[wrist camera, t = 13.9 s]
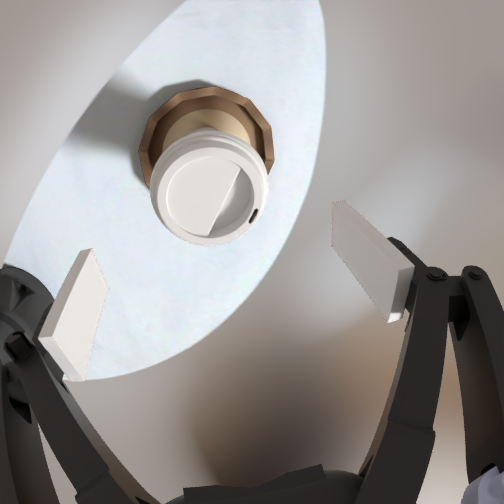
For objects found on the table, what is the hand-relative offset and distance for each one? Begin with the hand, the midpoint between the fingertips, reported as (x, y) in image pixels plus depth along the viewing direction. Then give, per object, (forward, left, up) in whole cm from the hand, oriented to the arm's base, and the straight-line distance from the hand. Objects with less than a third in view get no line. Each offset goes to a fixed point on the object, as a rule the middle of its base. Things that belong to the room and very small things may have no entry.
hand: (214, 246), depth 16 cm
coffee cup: (0, 0, -23) cm, 23 cm away
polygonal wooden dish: (0, 0, -23) cm, 23 cm away
